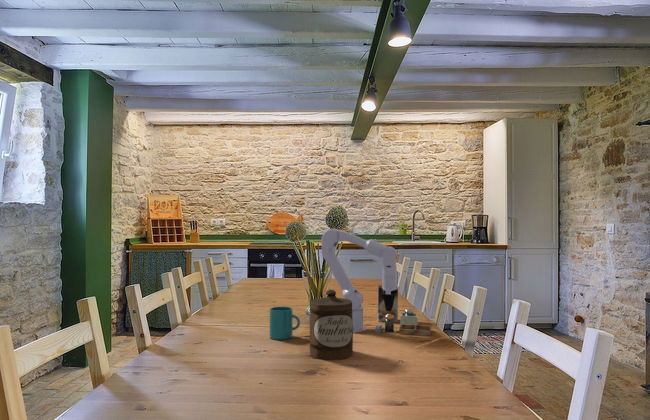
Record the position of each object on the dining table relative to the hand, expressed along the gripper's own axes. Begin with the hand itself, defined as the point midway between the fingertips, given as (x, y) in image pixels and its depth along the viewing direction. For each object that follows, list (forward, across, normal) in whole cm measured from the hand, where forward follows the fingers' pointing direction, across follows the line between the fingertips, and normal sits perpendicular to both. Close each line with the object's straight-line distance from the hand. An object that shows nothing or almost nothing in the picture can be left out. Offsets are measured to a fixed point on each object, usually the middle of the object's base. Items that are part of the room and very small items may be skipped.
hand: (389, 309), depth 189 cm
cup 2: (+9, +13, -8) cm, 18 cm away
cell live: (+9, 0, 0) cm, 9 cm away
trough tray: (+9, 0, -10) cm, 14 cm away
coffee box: (+10, +20, +2) cm, 22 cm away
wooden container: (+10, -35, +17) cm, 40 cm away
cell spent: (+9, +13, -8) cm, 17 cm away
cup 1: (+10, -17, +40) cm, 44 cm away
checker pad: (+9, 0, +1) cm, 9 cm away
